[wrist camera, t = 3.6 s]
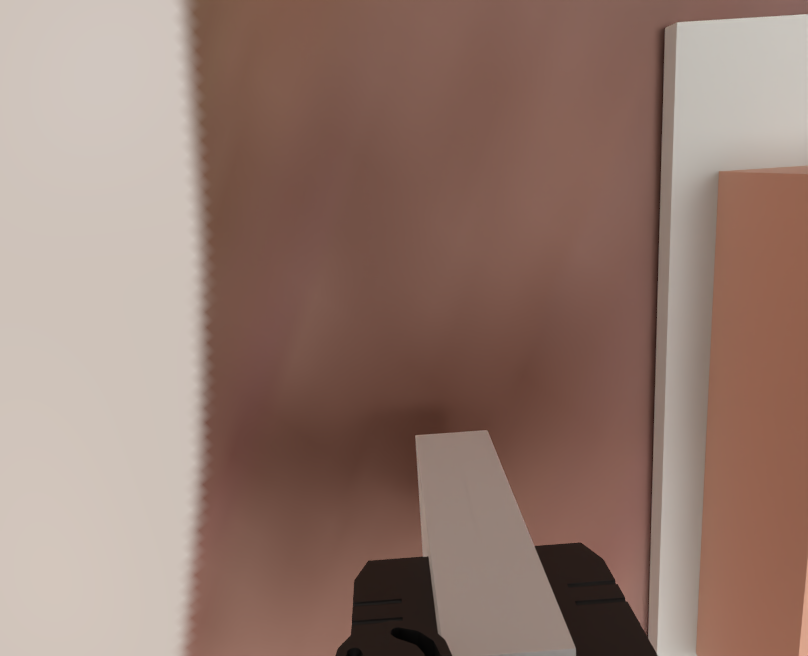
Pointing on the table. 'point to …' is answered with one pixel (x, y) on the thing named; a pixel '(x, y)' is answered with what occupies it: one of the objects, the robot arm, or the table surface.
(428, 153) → the table surface
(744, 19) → the mat
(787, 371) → the tee
